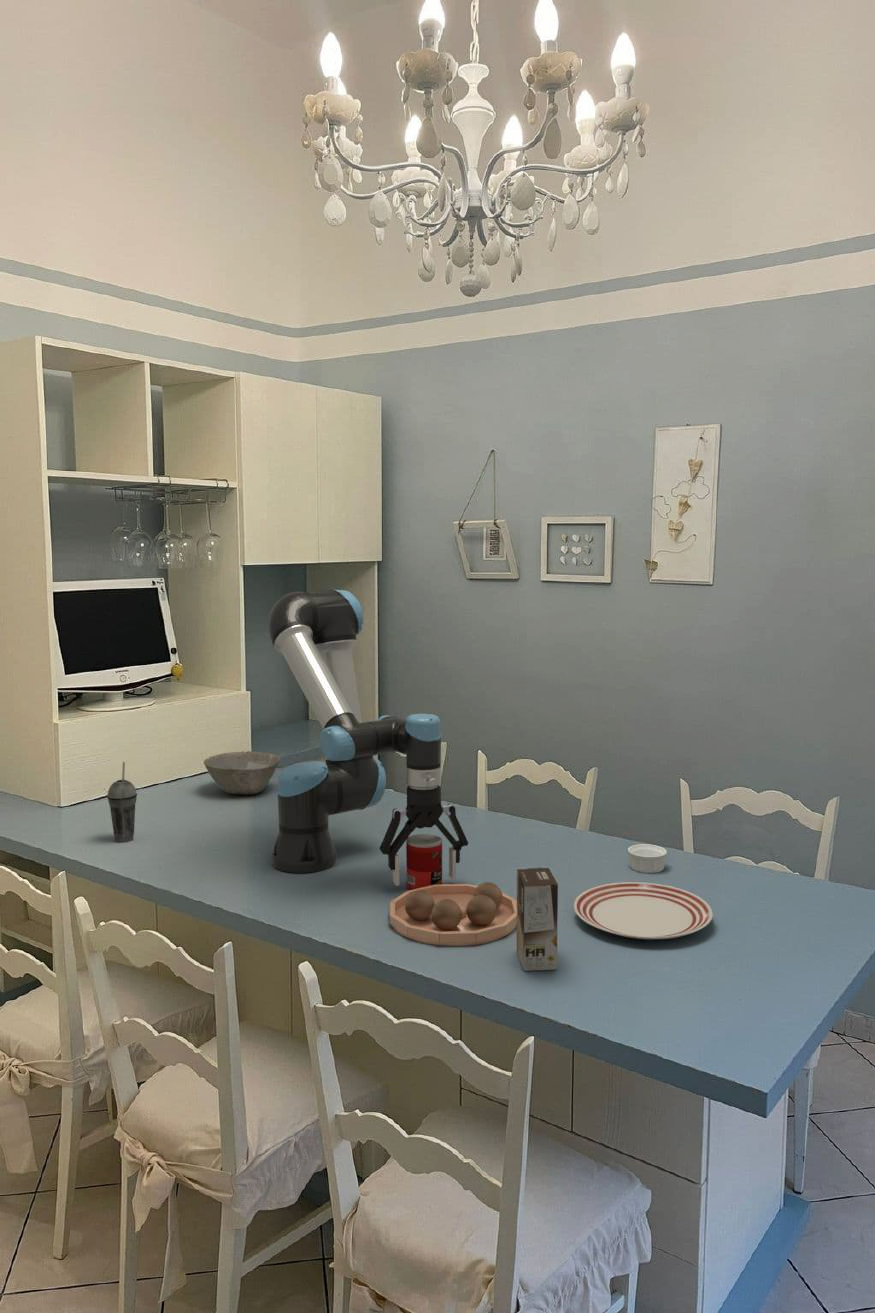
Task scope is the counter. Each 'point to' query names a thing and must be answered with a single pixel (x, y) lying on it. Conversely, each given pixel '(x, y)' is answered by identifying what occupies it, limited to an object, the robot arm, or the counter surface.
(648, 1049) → the counter surface
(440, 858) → the canned food
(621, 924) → the dinner plate
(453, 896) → the tray
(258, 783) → the ceramic bowl
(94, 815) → the counter surface
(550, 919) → the coffee box
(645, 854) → the ramekin
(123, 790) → the beverage cup
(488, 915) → the seated beads
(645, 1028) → the counter surface
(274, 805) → the counter surface
